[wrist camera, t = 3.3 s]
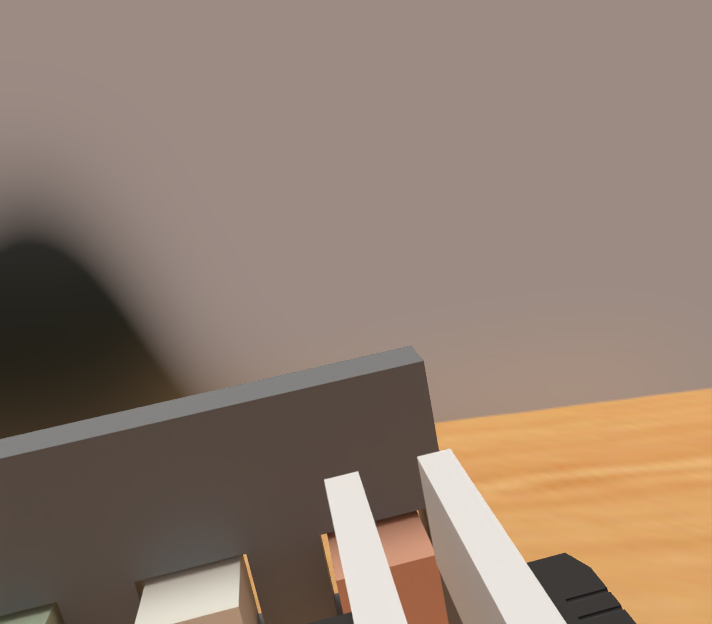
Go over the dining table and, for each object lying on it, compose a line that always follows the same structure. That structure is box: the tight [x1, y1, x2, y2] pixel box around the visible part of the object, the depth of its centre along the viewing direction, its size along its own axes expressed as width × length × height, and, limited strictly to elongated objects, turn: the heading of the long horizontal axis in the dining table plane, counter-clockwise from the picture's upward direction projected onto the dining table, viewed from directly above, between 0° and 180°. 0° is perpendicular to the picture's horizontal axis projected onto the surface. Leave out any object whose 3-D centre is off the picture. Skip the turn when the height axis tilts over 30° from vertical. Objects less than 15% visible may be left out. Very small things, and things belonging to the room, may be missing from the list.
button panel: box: [0, 346, 463, 624], centre depth 29 cm, size 20×9×18 cm, turn 99°
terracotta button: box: [327, 511, 449, 624], centre depth 25 cm, size 4×4×4 cm
